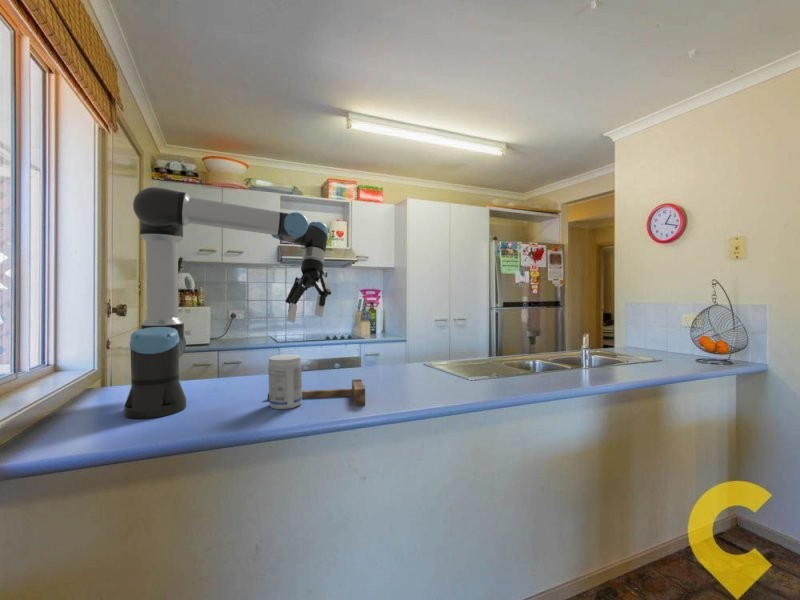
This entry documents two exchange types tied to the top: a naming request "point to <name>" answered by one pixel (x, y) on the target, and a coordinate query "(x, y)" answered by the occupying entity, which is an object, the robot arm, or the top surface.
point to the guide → (340, 393)
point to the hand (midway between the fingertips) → (304, 318)
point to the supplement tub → (285, 381)
